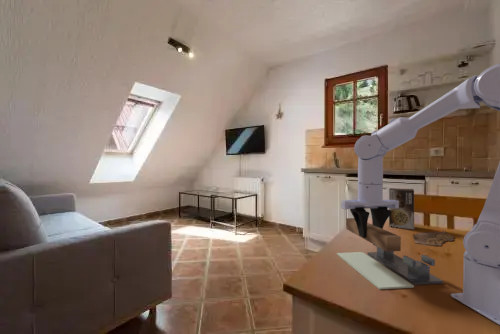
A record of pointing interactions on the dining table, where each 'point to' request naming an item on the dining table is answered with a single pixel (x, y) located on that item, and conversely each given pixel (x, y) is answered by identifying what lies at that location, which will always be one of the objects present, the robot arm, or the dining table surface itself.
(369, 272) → the mat
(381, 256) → the rack
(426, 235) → the wooden fragment
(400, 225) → the coffee box
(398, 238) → the rail
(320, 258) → the dining table surface
